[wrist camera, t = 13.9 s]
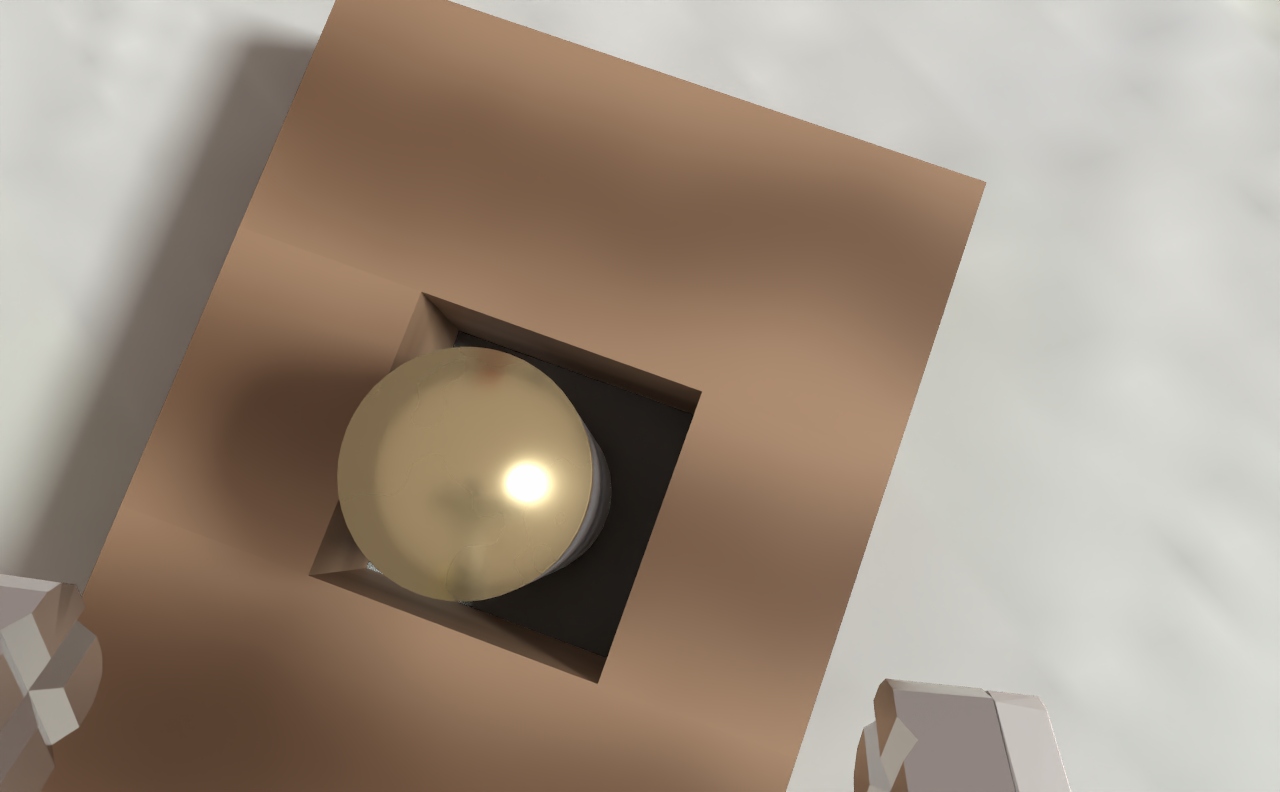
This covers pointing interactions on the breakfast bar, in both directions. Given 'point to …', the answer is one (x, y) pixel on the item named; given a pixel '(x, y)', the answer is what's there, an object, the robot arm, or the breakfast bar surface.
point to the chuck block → (558, 334)
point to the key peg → (470, 476)
